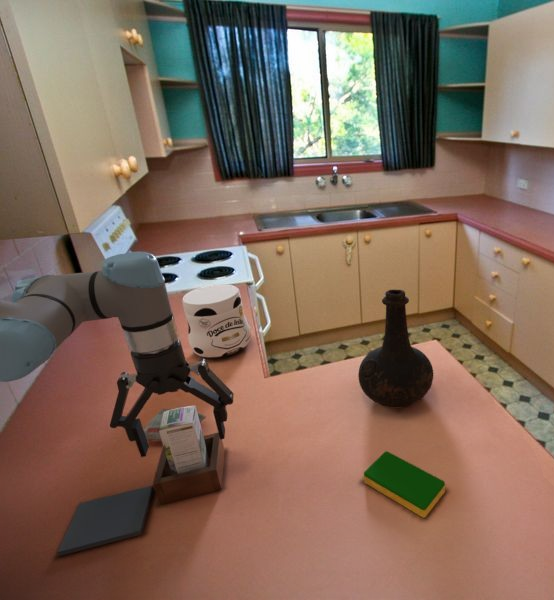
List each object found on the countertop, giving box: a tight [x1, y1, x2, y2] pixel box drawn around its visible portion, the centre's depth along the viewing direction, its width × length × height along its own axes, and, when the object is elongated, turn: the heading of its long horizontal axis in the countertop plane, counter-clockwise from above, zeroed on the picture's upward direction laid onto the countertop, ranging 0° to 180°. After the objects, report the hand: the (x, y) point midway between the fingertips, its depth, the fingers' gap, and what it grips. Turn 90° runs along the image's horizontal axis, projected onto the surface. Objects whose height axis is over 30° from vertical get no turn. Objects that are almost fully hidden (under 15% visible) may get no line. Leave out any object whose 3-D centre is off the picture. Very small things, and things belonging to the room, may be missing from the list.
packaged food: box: [143, 408, 206, 442], centre depth 93 cm, size 9×12×5 cm
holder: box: [152, 432, 226, 505], centre depth 82 cm, size 11×11×5 cm
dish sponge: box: [363, 451, 446, 518], centre depth 79 cm, size 7×14×2 cm, turn 54°
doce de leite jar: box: [181, 283, 252, 359], centre depth 126 cm, size 17×17×18 cm
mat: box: [56, 485, 155, 557], centre depth 74 cm, size 12×10×1 cm
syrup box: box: [159, 405, 211, 475], centre depth 80 cm, size 6×6×14 cm
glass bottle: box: [357, 289, 434, 409], centre depth 99 cm, size 18×18×28 cm
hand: (184, 443), depth 80 cm, fingers open, 13 cm apart
